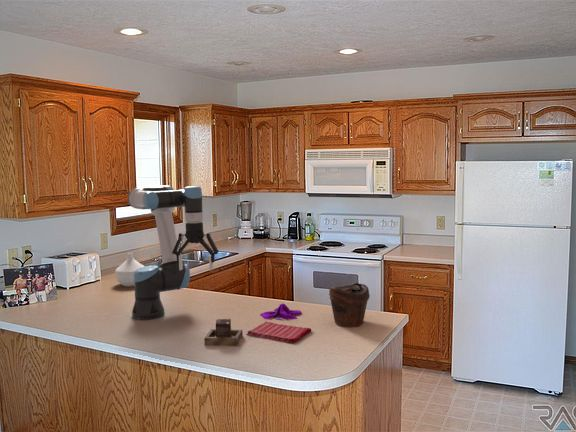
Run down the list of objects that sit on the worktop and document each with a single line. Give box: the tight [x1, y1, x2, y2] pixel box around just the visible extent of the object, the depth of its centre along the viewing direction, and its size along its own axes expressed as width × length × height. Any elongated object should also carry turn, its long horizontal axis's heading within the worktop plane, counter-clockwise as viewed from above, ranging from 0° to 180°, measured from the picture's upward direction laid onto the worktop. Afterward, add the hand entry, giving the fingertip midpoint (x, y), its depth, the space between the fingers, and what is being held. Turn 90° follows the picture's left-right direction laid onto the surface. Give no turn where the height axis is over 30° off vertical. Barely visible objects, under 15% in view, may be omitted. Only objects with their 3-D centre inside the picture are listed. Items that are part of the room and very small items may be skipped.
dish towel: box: [246, 321, 312, 344], centre depth 231 cm, size 17×24×3 cm
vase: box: [114, 252, 146, 287], centre depth 319 cm, size 18×18×19 cm
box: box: [215, 318, 232, 337], centre depth 223 cm, size 6×6×7 cm
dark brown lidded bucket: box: [328, 282, 371, 328], centre depth 243 cm, size 18×20×18 cm
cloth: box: [259, 302, 302, 321], centre depth 256 cm, size 22×19×6 cm
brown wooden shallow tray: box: [203, 328, 244, 347], centre depth 223 cm, size 14×11×3 cm
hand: (196, 269), depth 236 cm, fingers open, 13 cm apart
